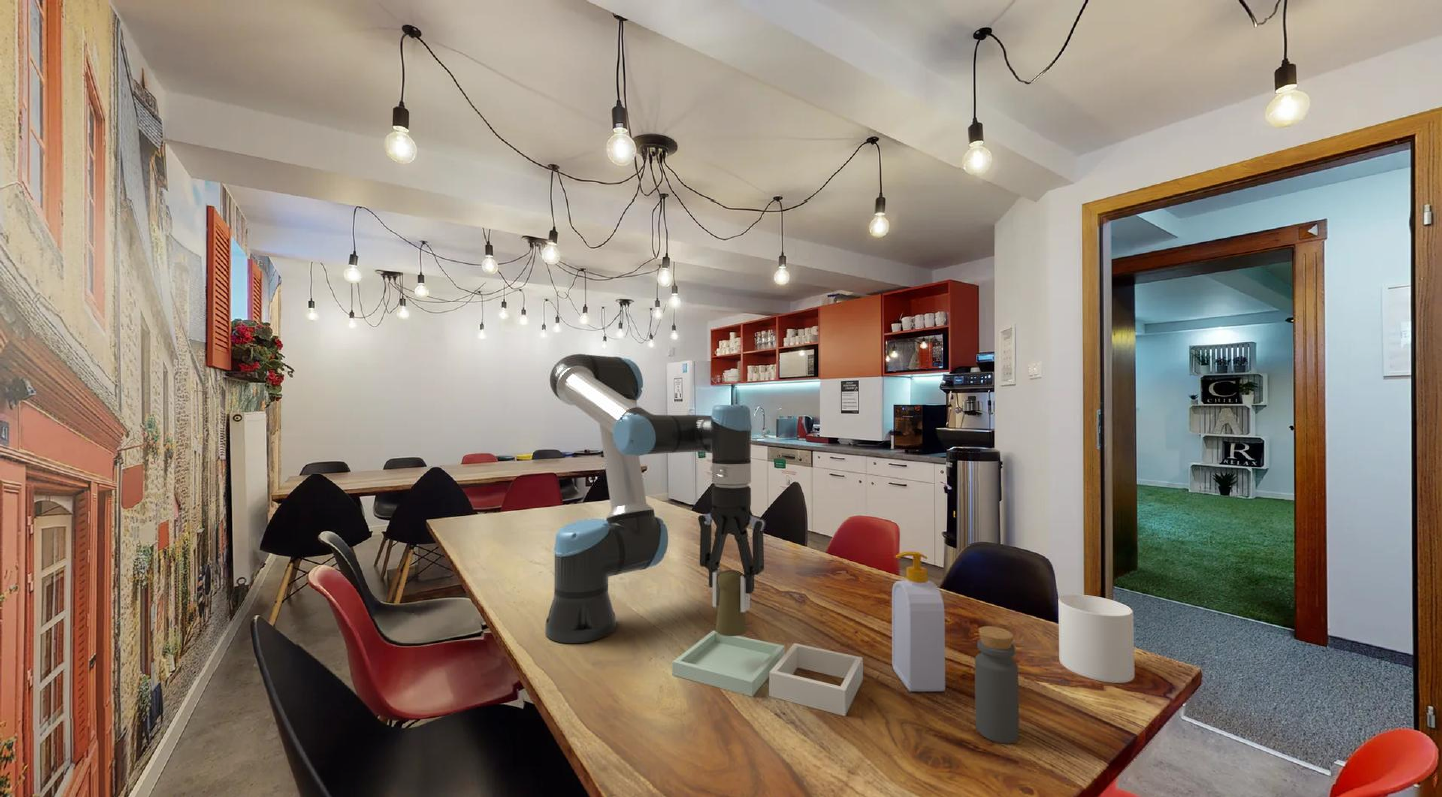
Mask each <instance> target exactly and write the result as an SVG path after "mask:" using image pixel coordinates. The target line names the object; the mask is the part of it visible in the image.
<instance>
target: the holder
mask: <svg viewBox="0 0 1442 797" xmlns="http://www.w3.org/2000/svg"><path fill="white" fill-rule="evenodd" d="M863 664H864V658H863V656H856V655H852V654H848V653H842V652H839V651H832V650H829V649H823V648H820V647H815V646H809V645H805V644H799V643H793V644H792V645H791V646H790V647H789V649H788V650H787V651H786V652H785V655H784V656H783V657H782V658H781V659H780V660H779V661H778V663H777V664H776V665H775V666H774V667H773V668H772V670H771V671H770V672H769V677H768V679H769V680H768V697H771V698H774V699H778V700H782V701H786V702H791V703H794V704H798V705H802V706H805V707H809V708H812V709H816V710H821V711H825V712H828V713H832V714H835V715H840V716H843V717H846V716H847V713H848V711H849V709H850V707H851V706H852V703H853V701H854V699H855V697H856V694H857V693H858V690H859V688H860V686H861V685H862V682H863V680H864V678H863V677H864V674H863V672H864V665H863ZM798 668H799V669H802V670H806V671H811V672H815V673H820V674H823V675H827V676H832V677H837V678H841V679H843V681H842V683H841V685H840V686H839V685H836V684H832V683H828V682H823V681H820V680H817V679H812V678H808V677H802V676H799V675H794V673H795V672H796V670H797V669H798Z"/></svg>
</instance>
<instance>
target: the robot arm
mask: <svg viewBox="0 0 1442 797" xmlns="http://www.w3.org/2000/svg"><path fill="white" fill-rule="evenodd" d="M642 375H643V374H642V372H641V370H640V368H639V366H638V365H637V363H635V362H634V361H633V360H632V359H630V358H626V357H625V358H623V357H621V356H606V355H593V354H585V353H584V354H583V353H576V354H575V353H574V354H571V355H567V356H565V357H563V358H560V360H558V361H557V362H556V364H554V366H553V368H551V372H550V375H549V385H550V388H551V391H552V392H553V395H555V396H556V397H557V398H558V399H559V400H560V401H562V403H564V404H566V405H569V406H575V407H577V408H578V409H580V410H581V411H582V412H584V413H585V414H586V415H588V416H589V417H590V418H592V419H593V420H594V421H596V422H597V423H598V425H599V429H600V431H599V432H600V438H601V443H602V444H601V445H602V450H603V459H604V465H605V466H604V467H605V475H606V482H607V487H608V488H607V490H608V495H609V502H610V511H609V513H608V514H607V515H606V517H605V519H604V518H591V519H582V520H577V521H574V522H570V523H568V524H565V525H563V526H561V528H560V529H558V531H557V532H556V534H555V541H554V549H553V553H554V577H553V578H554V579H553V580H554V582H553V583H554V584H553V585H554V586H553V588H554V590H553V591H554V593H553V594H554V595H553V600H552V601H551V605H550V608H549V612H548V616H547V618H546V620H545V624H544V626H545V628H544V630H545V631H544V632H545V636H546V637H547V638H548V639H550V640H552V641H554V642H556V643H561V644H562V643H564V644H580V643H581V644H582V643H588V642H593V641H598V640H599V639H603V638H605V637H607V636H609V635H610V634H612V633H613V632H614V631H615V629H616V625H617V623H616V622H617V620H616V619H617V618H616V617H617V616H616V613H615V611H614V609H613V606H612V601H611V599H610V595H609V578H610V577H613V576H618V575H622V574H627V573H631V572H636V571H642V570H646V569H649V568H652V567H655V566H657V565H658V564H659V563H661V562H662V560H663V559H664V557H665V555H666V553H667V551H668V547H669V546H668V545H669V533H668V527H667V525H666V524H665V523H664V520H663V519H662V518H660V517H658V516H656V515H655V508H653V507H652V506H651V505H649V504H648V503H647V499H646V493H645V486H644V478H643V472H642V467H641V460H640V456H645V455H657V454H658V455H659V454H678V453H712V454H711V457H712V458H711V482H712V484H714V485H713V486H712V487H711V504H712V508H711V511H710V513H704V514H701V515H699V516H698V517H697V520H698V524H699V527H700V533H699V536H700V537H699V565H700V567H704V568H706V569H707V570H708V586H709V588H712V607H713V608H718V606H719V598H720V590H721V589H720V588H719V586H718V576H719V574H720V573H721V572H723V569H722V568H720V567H721V559H722V555H723V552H724V547H725V543H726V538H727V536H728V535H731V536H733V538H734V540H735V541H736V544H737V549H738V554H739V557H740V561H741V565H742V571H743V575H742V576H741V612H745V613H746V612H747V611H748V610H749V609H750V608H751V594H753V593H754V591H755V577H756V576H757V575H760V574H761V573H762V572H764V571H765V555H764V554H765V551H764V550H765V548H764V530H765V529H766V528H765V527H766V524H767V522H766V520H765V519H763V518H761V519H759V518H758V517H755V516H754V515H753V512H752V510H751V506H752V488H751V487H750V485H749V484H751V483H752V470H751V469H752V467H751V464H752V463H751V462H752V460H751V459H752V458H751V456H752V454H751V452H752V450H751V449H752V448H751V447H752V442H751V441H752V428H753V426H752V417H751V410H750V408H749V407H748V406H747V405H746V404H745V405H744V404H742V405H741V404H718V405H717V404H716V405H713V407H712V411H711V415H706V414H705V415H704V414H701V415H700V414H682V415H681V414H679V415H678V414H673V415H672V414H670V415H669V414H653V413H650V412H649V411H647V410H646V409H644V408H642V407H641V406H639V405H638V403H637V401H638V400H639V398H641V395H642V393H643V387H644V380H643V376H642ZM713 523H714V524H715V526H716V528H715V532H714V540H713V545H712V534H713V533H712V532H713V531H712V524H713ZM749 525H751V530H752V550H751V546H750V542H749V533H748V529H747V528H748V526H749Z"/></svg>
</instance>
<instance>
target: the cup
mask: <svg viewBox="0 0 1442 797" xmlns="http://www.w3.org/2000/svg"><path fill="white" fill-rule="evenodd" d="M1134 626H1135V624H1134V611H1133V610H1132V608H1130V607H1129V606H1127V605H1125V604H1123V603H1121V602H1119V601H1116V600H1113V599H1109V598H1104V597H1100V596H1095V595H1087V594H1074V593H1072V594H1064V595H1062V596H1060V597H1059V598H1058V653H1059V654H1058V656H1059V663H1060V664H1061V665H1062V666H1063V667H1064V668H1066V669H1067V670H1068V671H1070V672H1073V673H1074V674H1076V675H1079V676H1081V677H1083V678H1087V679H1091V680H1094V681H1099V682H1102V683H1103V682H1104V683H1108V684H1109V683H1111V684H1124V683H1129V682H1132V681H1133V680H1134V679H1135V638H1134V637H1135V633H1134V630H1135V628H1134Z"/></svg>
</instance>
